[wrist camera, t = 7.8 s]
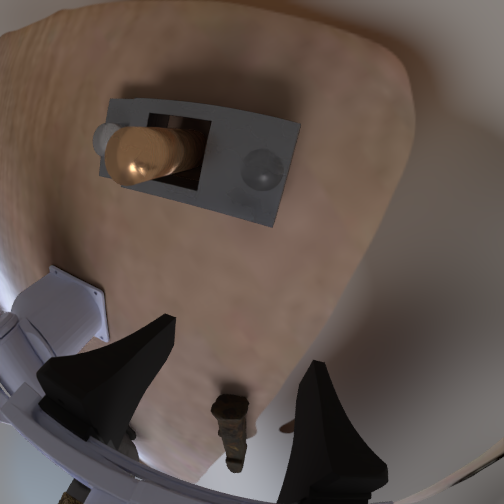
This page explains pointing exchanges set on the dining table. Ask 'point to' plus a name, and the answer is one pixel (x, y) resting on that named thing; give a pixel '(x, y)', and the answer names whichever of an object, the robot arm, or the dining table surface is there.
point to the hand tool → (232, 428)
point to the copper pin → (152, 153)
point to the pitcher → (79, 492)
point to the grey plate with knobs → (215, 156)
